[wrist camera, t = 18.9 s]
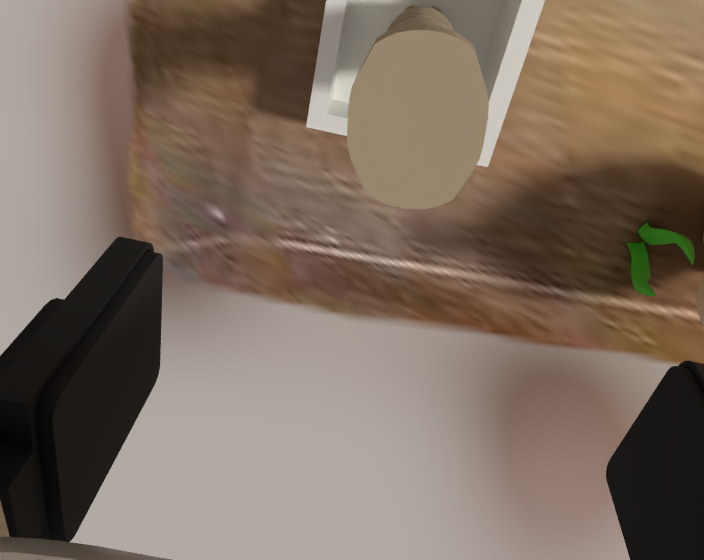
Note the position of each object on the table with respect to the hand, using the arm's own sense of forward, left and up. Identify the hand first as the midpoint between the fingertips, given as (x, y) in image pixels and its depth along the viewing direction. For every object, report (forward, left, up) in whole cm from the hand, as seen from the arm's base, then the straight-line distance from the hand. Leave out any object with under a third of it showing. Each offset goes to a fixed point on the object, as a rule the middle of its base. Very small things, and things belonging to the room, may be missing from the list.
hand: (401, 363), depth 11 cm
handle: (0, 0, -28) cm, 28 cm away
